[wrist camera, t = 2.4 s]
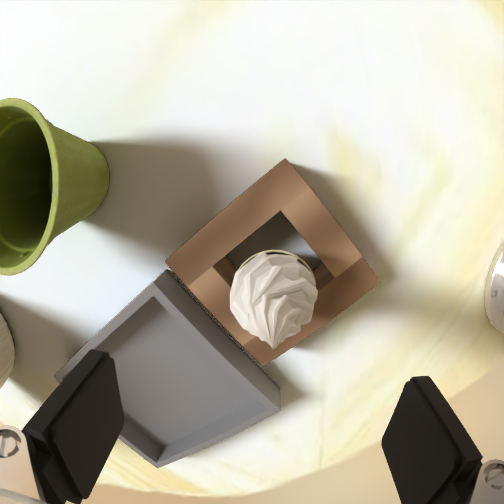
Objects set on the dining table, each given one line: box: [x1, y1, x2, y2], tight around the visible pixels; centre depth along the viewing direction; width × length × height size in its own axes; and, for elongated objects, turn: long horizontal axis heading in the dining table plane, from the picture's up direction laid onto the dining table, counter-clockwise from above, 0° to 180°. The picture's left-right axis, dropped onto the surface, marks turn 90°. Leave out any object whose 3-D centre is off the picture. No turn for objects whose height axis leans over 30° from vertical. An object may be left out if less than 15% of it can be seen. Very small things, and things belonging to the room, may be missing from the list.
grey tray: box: [54, 269, 280, 468], centre depth 29 cm, size 16×18×4 cm
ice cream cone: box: [230, 250, 318, 350], centre depth 20 cm, size 5×5×15 cm
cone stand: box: [165, 158, 380, 366], centre depth 25 cm, size 11×11×4 cm
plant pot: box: [0, 98, 109, 275], centre depth 21 cm, size 12×12×11 cm
